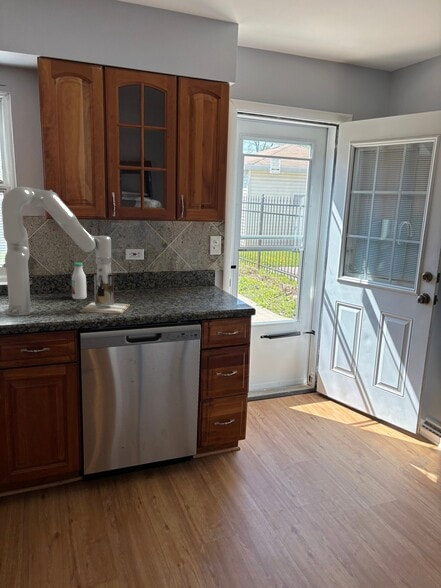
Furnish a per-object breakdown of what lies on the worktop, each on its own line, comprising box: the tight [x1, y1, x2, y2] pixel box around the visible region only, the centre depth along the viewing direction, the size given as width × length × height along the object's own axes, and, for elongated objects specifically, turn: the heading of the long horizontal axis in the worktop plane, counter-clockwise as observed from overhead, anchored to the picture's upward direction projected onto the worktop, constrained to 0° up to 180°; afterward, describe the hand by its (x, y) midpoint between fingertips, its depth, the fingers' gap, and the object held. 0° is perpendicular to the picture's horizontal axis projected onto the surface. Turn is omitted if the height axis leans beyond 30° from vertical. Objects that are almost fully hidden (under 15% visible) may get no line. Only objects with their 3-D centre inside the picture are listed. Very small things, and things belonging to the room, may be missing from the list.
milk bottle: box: [71, 262, 87, 300], centre depth 235 cm, size 8×8×20 cm
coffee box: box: [93, 272, 115, 306], centre depth 215 cm, size 9×6×16 cm
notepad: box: [79, 301, 131, 315], centre depth 219 cm, size 17×21×1 cm
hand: (104, 294), depth 216 cm, fingers closed on coffee box, 8 cm apart
